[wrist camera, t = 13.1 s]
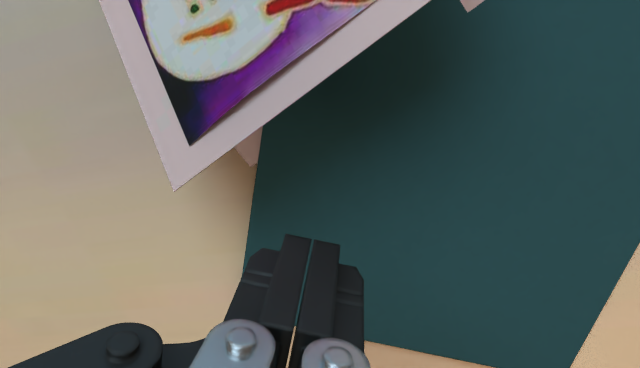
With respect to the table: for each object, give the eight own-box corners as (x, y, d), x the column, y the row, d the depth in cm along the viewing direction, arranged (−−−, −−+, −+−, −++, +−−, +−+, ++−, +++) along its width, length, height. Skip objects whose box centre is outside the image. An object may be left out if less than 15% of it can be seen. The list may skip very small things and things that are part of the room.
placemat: (238, 309, 28) (236, 314, 27) (304, -165, 18) (302, -168, 18) (559, 376, 28) (562, 381, 27) (802, -65, 18) (812, -65, 17)
